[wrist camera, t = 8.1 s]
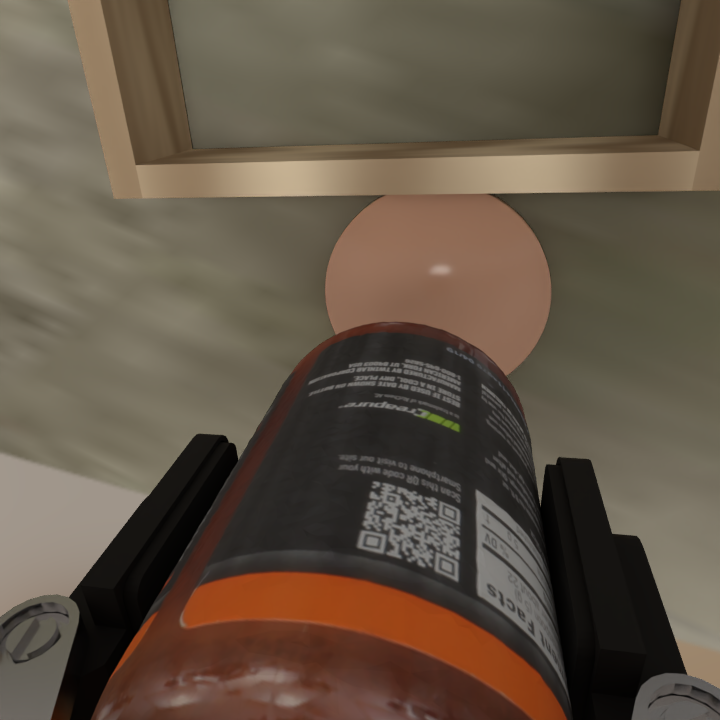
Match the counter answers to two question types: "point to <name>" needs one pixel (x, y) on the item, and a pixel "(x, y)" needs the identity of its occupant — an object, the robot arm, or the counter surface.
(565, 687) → the supplement bottle
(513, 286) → the saucer
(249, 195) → the frame
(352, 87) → the counter surface
